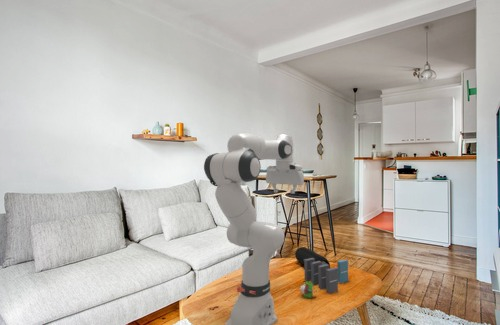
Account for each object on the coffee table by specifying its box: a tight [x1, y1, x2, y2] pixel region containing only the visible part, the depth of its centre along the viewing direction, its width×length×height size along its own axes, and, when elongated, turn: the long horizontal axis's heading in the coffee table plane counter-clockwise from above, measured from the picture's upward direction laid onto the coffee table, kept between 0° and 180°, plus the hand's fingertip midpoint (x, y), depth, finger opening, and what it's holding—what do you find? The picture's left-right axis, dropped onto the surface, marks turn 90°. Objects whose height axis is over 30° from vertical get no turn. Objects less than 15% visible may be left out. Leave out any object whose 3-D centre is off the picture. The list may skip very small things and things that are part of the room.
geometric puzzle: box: [299, 280, 318, 299], centre depth 133 cm, size 7×7×8 cm
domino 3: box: [318, 264, 329, 290], centre depth 142 cm, size 2×6×11 cm, turn 118°
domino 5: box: [336, 259, 349, 284], centre depth 148 cm, size 2×6×11 cm, turn 118°
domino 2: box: [310, 261, 322, 286], centre depth 147 cm, size 2×6×11 cm, turn 118°
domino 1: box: [303, 258, 315, 282], centre depth 152 cm, size 2×6×11 cm, turn 118°
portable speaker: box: [294, 246, 331, 269], centre depth 168 cm, size 26×10×10 cm, turn 20°
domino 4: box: [325, 266, 339, 295], centre depth 138 cm, size 2×6×11 cm, turn 118°
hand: (284, 193), depth 145 cm, fingers open, 8 cm apart
